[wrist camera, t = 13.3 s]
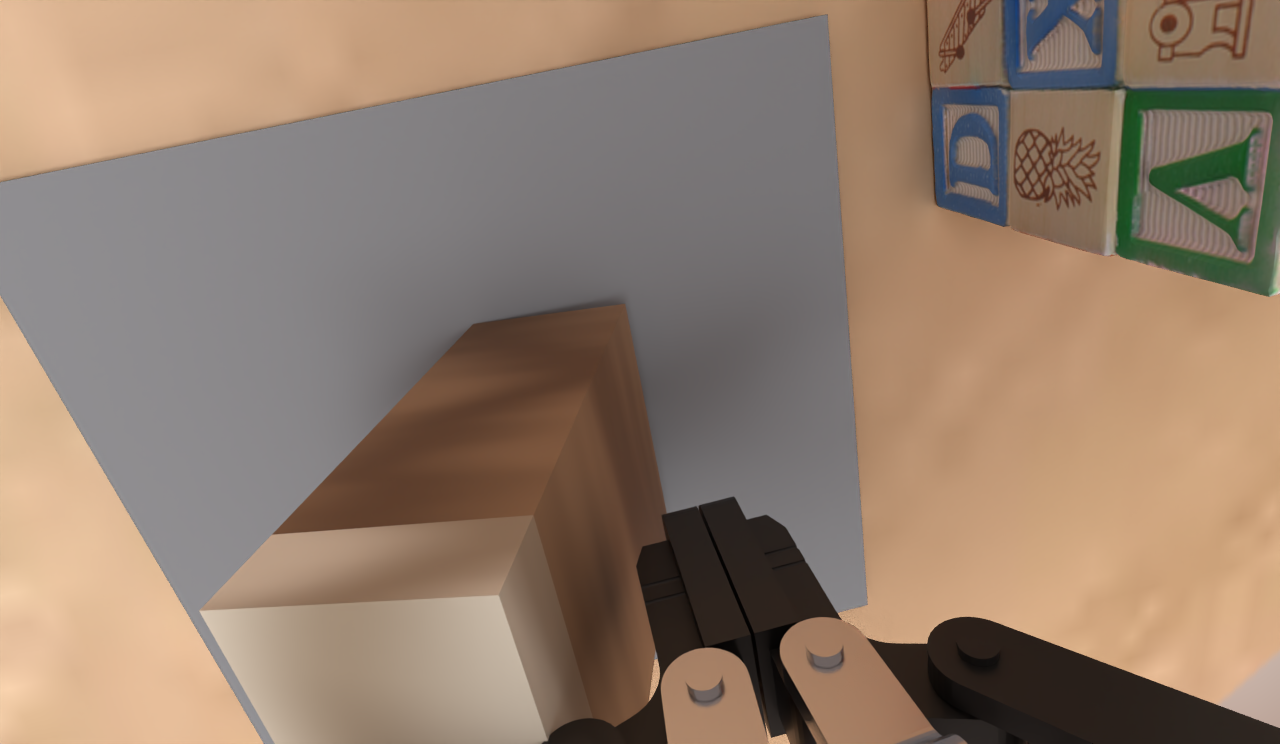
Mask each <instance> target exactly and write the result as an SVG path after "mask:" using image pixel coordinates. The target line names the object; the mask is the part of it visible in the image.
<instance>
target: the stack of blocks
mask: <svg viewBox="0 0 1280 744" xmlns="http://www.w3.org/2000/svg"><path fill="white" fill-rule="evenodd" d="M927 13H928V41H929V70H930V81H931V86H932V89H933V91H932V124H933V146H934V170H935V191H936V200H937V205H938V206H939V207H942V208H945V209H948V210H951V211H955V212H958V213H961V214H965V215H968V216H971V217H974V218H978V219H981V220H985V221H988V222H991V223H994V224H997V225H1000V226H1003V227H1005V226H1011V228H1012V229H1013V230H1015V231H1018V232H1021V233H1025V234H1028V235H1032V236H1035V237H1038V238H1042V239H1045V240H1049V241H1052V242H1055V243H1059V244H1062V245H1066V246H1069V247H1073V248H1076V249H1080V250H1083V251H1087V252H1091V253H1095V254H1099V255H1103V256H1113V255H1117V254H1118V255H1119V256H1120V257H1123V258H1126V259H1129V260H1133V261H1137V262H1140V263H1143V264H1147V265H1150V266H1154V267H1158V268H1162V269H1166V270H1170V271H1174V272H1177V273H1181V274H1185V275H1189V276H1192V277H1196V278H1200V279H1204V280H1208V281H1212V282H1215V283H1219V284H1223V285H1227V286H1230V287H1234V288H1238V289H1241V290H1245V291H1249V292H1253V293H1256V294H1260V295H1264V296H1268V297H1270V296H1274V295H1278V294H1280V0H927Z"/></svg>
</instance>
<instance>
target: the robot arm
mask: <svg viewBox="0 0 1280 744" xmlns="http://www.w3.org/2000/svg"><path fill="white" fill-rule="evenodd" d="M698 508H699V510H698ZM698 508H697V506H694V507H690V508H686V509H682V510H679V511H675V512H671V513H667V514H663V515H661V516H662V522H663V527H664V532H665V536H666V541H662V542H658V543H654V544H650V545H646V546H643V547H642V549H641V552H640V555H639V558H638V561H637V565H636V569H637V573H638V577H639V581H640V586H641V590H642V594H643V598H644V603H645V607H646V611H647V615H648V620H649V624H650V628H651V632H652V636H653V641H654V645H655V649H656V653H657V658H658V662H659V667H660V679H659V684H658V687H657V689H656V691H655V693H654V695H653V697H652V698H651V700H650V701H649V702H648V703H647V705H646V706H645V707H644V708H642V709H641V710H640V711H639V712H638V713H636V714H635V715H634V716H632V717H631V718H629V719H627V720H626V721H624V722H622V723H621V724H619V725H618V726H616V727H614V726H613V725H612V724H610V723H608V722H606V721H604V720H600V719H594V718H584V719H578V720H574V721H571V722H569V723H566V724H564V725H563V726H561V727H559V728H558V729H556V730H555V731H553V732H552V733H551V734H550V735H549V739H548V741H544V742H543V743H542V744H769V742H768V738H767V732H766V726H765V723H766V725H767V728H768V731H769V733H770V736H771V738H772V737H776V736H779V735H783V734H787V737H788V739H789V741H790V744H1280V728H1278V727H1275V726H1272V725H1269V724H1267V723H1264V722H1261V721H1259V720H1256V719H1253V718H1251V717H1248V716H1245V715H1243V714H1240V713H1237V712H1235V711H1232V710H1229V709H1226V708H1224V707H1221V706H1218V705H1216V704H1213V703H1210V702H1208V701H1205V700H1202V699H1200V698H1197V697H1194V696H1192V695H1189V694H1186V693H1184V692H1181V691H1178V690H1176V689H1173V688H1170V687H1167V686H1165V685H1162V684H1159V683H1157V682H1154V681H1151V680H1149V679H1146V678H1143V677H1141V676H1138V675H1135V674H1133V673H1130V672H1127V671H1125V670H1122V669H1119V668H1116V667H1114V666H1111V665H1108V664H1106V663H1103V662H1100V661H1098V660H1095V659H1092V658H1090V657H1087V656H1084V655H1082V654H1079V653H1076V652H1074V651H1071V650H1068V649H1065V648H1063V647H1060V646H1057V645H1055V644H1052V643H1049V642H1047V641H1044V640H1041V639H1039V638H1036V637H1033V636H1031V635H1028V634H1025V633H1023V632H1020V631H1017V630H1014V629H1012V628H1009V627H1006V626H1004V625H1001V624H998V623H996V622H993V621H990V620H986V619H982V618H975V617H959V618H953V619H950V620H947V621H944V622H943V623H941V624H939V625H938V626H936V627H935V628H934V629H933V631H932V632H931V633H930V636H929V638H928V643H927V644H895V643H884V642H879V641H875V640H872V639H869V638H866V637H865V636H864V635H863V633H862V632H861V631H860V630H858V629H857V628H856V627H855V626H853V625H851V624H849V623H847V622H845V621H842V619H841V618H840V617H839V615H838V613H837V612H836V610H835V608H834V607H833V605H832V603H831V602H830V600H829V598H828V597H827V595H826V593H825V592H824V590H823V588H822V587H821V585H820V583H819V582H818V580H817V578H816V577H815V575H814V573H813V572H812V570H811V568H810V567H809V565H808V563H806V561H805V558H804V557H803V555H802V553H801V552H800V550H799V548H798V549H797V546H796V543H795V542H794V540H793V538H792V537H791V535H790V533H789V532H788V530H787V528H786V527H785V526H783V525H782V524H780V523H779V522H777V521H776V520H774V519H773V518H771V517H770V516H768V515H767V514H766V515H762V516H759V517H755V518H751V519H746V517H745V515H744V514H743V512H742V510H741V508H740V506H739V504H738V502H737V500H736V498H735V497H734V496H733V497H729V498H725V499H721V500H717V501H713V502H709V503H705V504H702V505H699V507H698Z"/></svg>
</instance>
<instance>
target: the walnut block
mask: <svg viewBox="0 0 1280 744" xmlns="http://www.w3.org/2000/svg"><path fill="white" fill-rule="evenodd" d="M663 514H667V512H666V507H665V502H664V497H663V492H662V487H661V482H660V477H659V472H658V466H657V461H656V456H655V451H654V446H653V441H652V436H651V431H650V426H649V421H648V416H647V411H646V406H645V401H644V396H643V391H642V386H641V381H640V376H639V371H638V366H637V361H636V356H635V351H634V346H633V341H632V336H631V331H630V325H629V320H628V315H627V310H626V305H625V304H620V305H612V306H605V307H597V308H590V309H582V310H575V311H567V312H559V313H552V314H544V315H537V316H529V317H522V318H514V319H507V320H499V321H491V322H484V323H476V324H473V325H472V326H471V327H470V328H469V329H468V330H467V331H466V332H465V333H464V334H463V335H462V336H461V337H460V338H459V339H458V340H457V341H456V342H455V344H454V345H453V346H452V347H451V348H450V349H449V350H448V351H447V352H446V353H445V354H444V355H443V356H442V357H441V358H440V359H439V360H438V361H437V362H436V363H435V364H434V366H433V367H432V368H431V369H430V370H429V371H428V372H427V373H426V374H425V375H424V376H423V377H422V378H421V379H420V380H419V381H418V382H417V383H416V384H415V385H414V386H413V387H412V389H411V390H410V391H409V392H408V393H407V394H406V395H405V396H404V397H403V398H402V399H401V400H400V401H399V402H398V403H397V404H396V405H395V406H394V407H393V408H392V409H391V410H390V412H389V413H388V414H387V415H386V416H385V417H384V418H383V419H382V420H381V421H380V422H379V423H378V424H377V425H376V426H375V427H374V428H373V429H372V430H371V431H370V432H369V434H368V435H367V436H366V437H365V438H364V439H363V440H362V441H361V442H360V443H359V444H358V445H357V446H356V447H355V448H354V449H353V450H352V451H351V452H350V453H349V454H348V455H347V457H346V458H345V459H344V460H343V461H342V462H341V463H340V464H339V465H338V466H337V467H336V468H335V469H334V470H333V471H332V472H331V473H330V474H329V475H328V476H327V477H326V479H325V480H324V481H323V482H322V483H321V484H320V485H319V486H318V487H317V488H316V489H315V490H314V491H313V492H312V493H311V494H310V495H309V496H308V497H307V498H306V499H305V500H304V502H303V503H302V504H301V505H300V506H299V507H298V508H297V509H296V510H295V511H294V512H293V513H292V514H291V515H290V516H289V517H288V518H287V519H286V520H285V521H284V522H283V524H282V525H281V526H280V527H279V528H278V529H277V530H276V531H275V532H274V533H273V534H272V535H271V536H270V537H269V538H268V539H267V540H266V541H265V542H264V543H263V544H262V545H261V547H260V548H259V549H258V550H257V551H256V552H255V553H254V554H253V555H252V556H251V557H250V558H249V559H248V560H247V561H246V562H245V563H244V564H243V565H242V566H241V567H240V569H239V570H238V571H237V572H236V573H235V574H234V575H233V576H232V577H231V578H230V579H229V580H228V581H227V582H226V583H225V584H224V585H223V586H222V587H221V588H220V589H219V590H218V592H217V593H216V594H215V595H214V596H213V597H212V598H211V599H210V600H209V601H208V602H207V603H206V604H205V605H204V606H203V607H202V608H201V609H200V610H199V612H200V613H201V615H202V617H203V619H204V620H205V622H206V624H207V626H208V627H209V629H210V631H211V633H212V634H213V636H214V638H215V640H216V641H217V643H218V645H219V647H220V649H221V650H222V652H223V654H224V656H225V657H226V659H227V661H228V663H229V664H230V666H231V668H232V670H233V671H234V673H235V675H236V677H237V678H238V680H239V682H240V684H241V685H242V687H243V689H244V691H245V692H246V694H247V696H248V698H249V699H250V701H251V703H252V705H253V706H254V708H255V710H256V712H257V714H258V715H259V717H260V719H261V721H262V722H263V724H264V726H265V728H266V729H267V731H268V733H269V735H270V736H271V738H272V740H273V742H274V743H275V744H542V743H543V742H544V741H548V739H549V735H550V734H551V733H552V732H553V731H555V730H556V729H558V728H559V727H561V726H563V725H564V724H566V723H569V722H571V721H574V720H578V719H584V718H594V719H600V720H604V721H606V722H608V723H610V724H612V725H613V726H614V727H616V726H618V725H619V724H621V723H622V722H624V721H626V720H627V719H629V718H631V717H632V716H634V715H635V714H636V713H638V712H639V711H640V710H641V709H642V708H644V707H645V706H646V705H647V703H648V702H649V695H650V687H651V680H652V672H653V665H654V657H655V650H656V649H655V645H654V641H653V636H652V632H651V628H650V624H649V620H648V615H647V611H646V607H645V603H644V598H643V594H642V590H641V586H640V581H639V577H638V573H637V569H636V565H637V561H638V558H639V555H640V552H641V549H642V547H643V546H646V545H650V544H654V543H658V542H662V541H666V536H665V532H664V527H663V522H662V516H661V515H663Z"/></svg>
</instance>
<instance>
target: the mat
mask: <svg viewBox="0 0 1280 744" xmlns="http://www.w3.org/2000/svg"><path fill="white" fill-rule="evenodd" d="M0 296H1V298H2V299H3V301H4V303H5V304H6V306H7V308H8V310H9V311H10V313H11V315H12V316H13V318H14V320H15V321H16V323H17V325H18V327H19V328H20V330H21V332H22V333H23V335H24V337H25V338H26V340H27V342H28V344H29V345H30V347H31V349H32V350H33V352H34V354H35V355H36V357H37V359H38V361H39V362H40V364H41V366H42V367H43V369H44V371H45V372H46V374H47V376H48V378H49V379H50V381H51V383H52V384H53V386H54V388H55V389H56V391H57V393H58V394H59V396H60V398H61V400H62V401H63V403H64V405H65V406H66V408H67V410H68V411H69V413H70V415H71V417H72V418H73V420H74V422H75V423H76V425H77V427H78V428H79V430H80V432H81V434H82V435H83V437H84V439H85V440H86V442H87V444H88V445H89V447H90V449H91V451H92V452H93V454H94V456H95V457H96V459H97V461H98V462H99V464H100V466H101V468H102V469H103V471H104V473H105V474H106V476H107V478H108V479H109V481H110V483H111V485H112V486H113V488H114V490H115V491H116V493H117V495H118V496H119V498H120V500H121V502H122V503H123V505H124V507H125V508H126V510H127V512H128V513H129V515H130V517H131V519H132V520H133V522H134V524H135V525H136V527H137V529H138V530H139V532H140V534H141V536H142V537H143V539H144V541H145V542H146V544H147V546H148V547H149V549H150V551H151V553H152V554H153V556H154V558H155V559H156V561H157V563H158V564H159V566H160V568H161V570H162V571H163V573H164V575H165V576H166V578H167V580H168V581H169V583H170V585H171V587H172V588H173V590H174V592H175V593H176V595H177V597H178V598H179V600H180V602H181V604H182V605H183V607H184V609H185V610H186V612H187V614H188V615H189V617H190V619H191V621H192V622H193V624H194V626H195V627H196V629H197V631H198V632H199V634H200V636H201V638H202V639H203V641H204V643H205V644H206V646H207V648H208V649H209V651H210V653H211V655H212V656H213V658H214V660H215V661H216V663H217V665H218V666H219V668H220V670H221V672H222V673H223V675H224V677H225V678H226V680H227V682H228V683H229V685H230V687H231V689H232V690H233V692H234V694H235V695H236V697H237V699H238V700H239V702H240V704H241V706H242V707H243V709H244V711H245V712H246V714H247V716H248V717H249V719H250V721H251V723H252V724H253V726H254V728H255V729H256V731H257V733H258V734H259V736H260V738H261V740H262V741H263V743H264V744H275V743H274V742H273V740H272V738H271V736H270V735H269V733H268V731H267V729H266V728H265V726H264V724H263V722H262V721H261V719H260V717H259V715H258V714H257V712H256V710H255V708H254V706H253V705H252V703H251V701H250V699H249V698H248V696H247V694H246V692H245V691H244V689H243V687H242V685H241V684H240V682H239V680H238V678H237V677H236V675H235V673H234V671H233V670H232V668H231V666H230V664H229V663H228V661H227V659H226V657H225V656H224V654H223V652H222V650H221V649H220V647H219V645H218V643H217V641H216V640H215V638H214V636H213V634H212V633H211V631H210V629H209V627H208V626H207V624H206V622H205V620H204V619H203V617H202V615H201V613H200V612H199V610H200V609H201V608H202V607H203V606H204V605H205V604H206V603H207V602H208V601H209V600H210V599H211V598H212V597H213V596H214V595H215V594H216V593H217V592H218V590H219V589H220V588H221V587H222V586H223V585H224V584H225V583H226V582H227V581H228V580H229V579H230V578H231V577H232V576H233V575H234V574H235V573H236V572H237V571H238V570H239V569H240V567H241V566H242V565H243V564H244V563H245V562H246V561H247V560H248V559H249V558H250V557H251V556H252V555H253V554H254V553H255V552H256V551H257V550H258V549H259V548H260V547H261V545H262V544H263V543H264V542H265V541H266V540H267V539H268V538H269V537H270V536H271V535H272V534H273V533H274V532H275V531H276V530H277V529H278V528H279V527H280V526H281V525H282V524H283V522H284V521H285V520H286V519H287V518H288V517H289V516H290V515H291V514H292V513H293V512H294V511H295V510H296V509H297V508H298V507H299V506H300V505H301V504H302V503H303V502H304V500H305V499H306V498H307V497H308V496H309V495H310V494H311V493H312V492H313V491H314V490H315V489H316V488H317V487H318V486H319V485H320V484H321V483H322V482H323V481H324V480H325V479H326V477H327V476H328V475H329V474H330V473H331V472H332V471H333V470H334V469H335V468H336V467H337V466H338V465H339V464H340V463H341V462H342V461H343V460H344V459H345V458H346V457H347V455H348V454H349V453H350V452H351V451H352V450H353V449H354V448H355V447H356V446H357V445H358V444H359V443H360V442H361V441H362V440H363V439H364V438H365V437H366V436H367V435H368V434H369V432H370V431H371V430H372V429H373V428H374V427H375V426H376V425H377V424H378V423H379V422H380V421H381V420H382V419H383V418H384V417H385V416H386V415H387V414H388V413H389V412H390V410H391V409H392V408H393V407H394V406H395V405H396V404H397V403H398V402H399V401H400V400H401V399H402V398H403V397H404V396H405V395H406V394H407V393H408V392H409V391H410V390H411V389H412V387H413V386H414V385H415V384H416V383H417V382H418V381H419V380H420V379H421V378H422V377H423V376H424V375H425V374H426V373H427V372H428V371H429V370H430V369H431V368H432V367H433V366H434V364H435V363H436V362H437V361H438V360H439V359H440V358H441V357H442V356H443V355H444V354H445V353H446V352H447V351H448V350H449V349H450V348H451V347H452V346H453V345H454V344H455V342H456V341H457V340H458V339H459V338H460V337H461V336H462V335H463V334H464V333H465V332H466V331H467V330H468V329H469V328H470V327H471V326H472V325H473V324H476V323H484V322H491V321H499V320H507V319H514V318H522V317H529V316H537V315H544V314H552V313H559V312H567V311H575V310H582V309H590V308H597V307H605V306H612V305H620V304H625V305H626V310H627V315H628V320H629V325H630V331H631V336H632V341H633V346H634V351H635V356H636V361H637V366H638V371H639V376H640V381H641V386H642V391H643V396H644V401H645V406H646V411H647V416H648V421H649V426H650V431H651V436H652V441H653V446H654V451H655V456H656V461H657V466H658V472H659V477H660V482H661V487H662V492H663V497H664V502H665V507H666V512H667V513H671V512H675V511H679V510H682V509H686V508H690V507H694V506H697V508H698V507H699V505H702V504H705V503H709V502H713V501H717V500H721V499H725V498H729V497H733V496H734V497H735V498H736V500H737V502H738V504H739V506H740V508H741V510H742V512H743V514H744V515H745V517H746V519H751V518H755V517H759V516H762V515H766V514H767V515H768V516H770V517H771V518H773V519H774V520H776V521H777V522H779V523H780V524H782V525H783V526H785V527H786V528H787V530H788V532H789V533H790V535H791V537H792V538H793V540H794V542H795V543H796V546H797V549H798V548H799V550H800V552H801V553H802V555H803V557H804V558H805V561H806V563H808V565H809V567H810V568H811V570H812V572H813V573H814V575H815V577H816V578H817V580H818V582H819V583H820V585H821V587H822V588H823V590H824V592H825V593H826V595H827V597H828V598H829V600H830V602H831V603H832V605H833V607H834V608H835V610H836V612H837V613H838V612H842V611H846V610H850V609H854V608H857V607H861V606H865V605H868V604H867V590H866V575H865V560H864V546H863V531H862V516H861V501H860V487H859V472H858V457H857V442H856V428H855V413H854V398H853V384H852V369H851V354H850V339H849V325H848V310H847V295H846V280H845V266H844V251H843V236H842V222H841V207H840V192H839V177H838V163H837V148H836V133H835V118H834V104H833V89H832V74H831V60H830V45H829V30H828V15H827V14H826V15H821V16H816V17H811V18H807V19H802V20H797V21H792V22H787V23H782V24H777V25H772V26H767V27H762V28H757V29H752V30H747V31H743V32H738V33H733V34H728V35H723V36H718V37H713V38H708V39H703V40H698V41H693V42H688V43H684V44H679V45H674V46H669V47H664V48H659V49H654V50H649V51H644V52H639V53H634V54H629V55H624V56H620V57H615V58H610V59H605V60H600V61H595V62H590V63H585V64H580V65H575V66H570V67H565V68H560V69H556V70H551V71H546V72H541V73H536V74H531V75H526V76H521V77H516V78H511V79H506V80H501V81H497V82H492V83H487V84H482V85H477V86H472V87H467V88H462V89H457V90H452V91H447V92H442V93H437V94H433V95H428V96H423V97H418V98H413V99H408V100H403V101H398V102H393V103H388V104H383V105H378V106H373V107H369V108H364V109H359V110H354V111H349V112H344V113H339V114H334V115H329V116H324V117H319V118H314V119H310V120H305V121H300V122H295V123H290V124H285V125H280V126H275V127H270V128H265V129H260V130H255V131H250V132H246V133H241V134H236V135H231V136H226V137H221V138H216V139H211V140H206V141H201V142H196V143H191V144H187V145H182V146H177V147H172V148H167V149H162V150H157V151H152V152H147V153H142V154H137V155H132V156H127V157H123V158H118V159H113V160H108V161H103V162H98V163H93V164H88V165H83V166H78V167H73V168H68V169H63V170H59V171H54V172H49V173H44V174H39V175H34V176H29V177H24V178H19V179H14V180H9V181H4V182H0ZM698 510H699V508H698ZM654 659H658V658H657V653H656V650H655V657H654Z"/></svg>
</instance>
